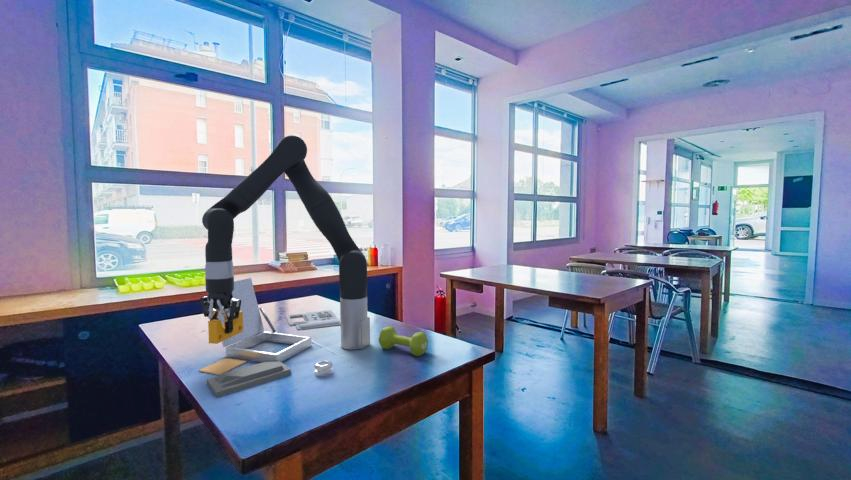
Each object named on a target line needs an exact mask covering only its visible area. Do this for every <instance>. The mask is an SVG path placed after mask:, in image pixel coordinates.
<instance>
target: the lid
mask: <svg viewBox="0 0 851 480" xmlns="http://www.w3.org/2000/svg"><path fill="white" fill-rule="evenodd" d="M232 295H233V298H234V299H236V300H238V299H240V300H241V307H240V311H243V332H241V333H239V334H236V335H234V336H232V337H230V338H228V339H226V340H224V341H222V342H221V344H222V347H223V348H226V347H228V346H230V345H233V344H235V343H238V342H240V341H243V340H245V339H248V338H250V337H252V336H255V335H257V334H260V333H262V332H265V328H264V324H263V321H262V317H261V311H260V309H259V308H260V307H259V304H258V301H257V297H256V292H255V289H254V284H253V280H252V277H248V278H244V279H239V280H234V290H233V292H232ZM227 310H228V309H226V310H225V311H227ZM227 315H228V317H229V314H228V313H227ZM217 318H218V320H221V324H222V325H223V323H224V322H225V320H224V316H223V315H222V314H221V312H220V311H219V314H218V317H217Z"/></svg>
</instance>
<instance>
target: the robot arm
mask: <svg viewBox="0 0 851 480" xmlns="http://www.w3.org/2000/svg"><path fill="white" fill-rule="evenodd" d="M307 154H308V147H307V144H306V142H305V140H304V139H302V138H301V137H300V136H297V135H293V134H291V135H290V134H289V135H286V136H284V137H282V138H281V139H280V140H279V141H278V143H277V145H276V146H275V149H273V150H272V152H271V153H270V154H269V156H268V157H267V158H266V159H265V160H264V161H262V163H261V164H260V165H259V166H258V167H257V168H255V169H254V170H253V171H252V172H251V173H250V174H248V175H247V176H246V177H245V178H244V179H243V180H242V181H240V182H239V183H238V184H237V185H236V186H234V188H233V189H232V190H230V191H229V193H227V194H226V195H225V196H224V197H223V198H221V199H220V200H219V201H217V202H216V203H214V204H213V205H212V206H211V207H210V208H207V210H206V211H205V212H204V213H203V215H202V218H201V220H202V225H203V227H204V229H206V230H207V243H206V244H205V248H204V250H205V251H204V252H205V253H204V254H205V255H204V256H205V265H204V267H205V268H204V275H205V278H204V279H205V281H204V282H205V293H206V294H208V295H207V296H203V297H200V304H201V309H202V312H203V313H202V314H203V316H204V318H206V317H207V319H208V320H209V321H210V320H213V319H215V320H218V318H217V317H218V314H219V311H220V312H221V314H222V315H223V316H224V320H225V322H224V324H225V333H226V334H229V333H231V332H232V331H233V320H234V319H236V318H238V317H239V312H240V307H241V300H240V299H238V300H236V299H234V298H233V295H232V292H233V290H234V281H235V271H234V268H235V267H234V262H233V247H232V244H233V239H234V231H235V229H234V228H235V222H234V221H235V220H234V219H235V218H236V217H238V216H239V215H240V214H242V213H244V212H246V211H248V210H249V209H250V208H251V207H252V206H253V205H254V204H255V203H256V202H257V201H258V200H259V199H260V198H261V197H263V196H264V194H265V193H266V192H267V191H268V189H269V188H270V187H271V186H272V185H273V184H274V182H276V180H277V179H278V178H279V177H280V176H281V175H283V173H284V174H285V175H286V177H287V178H288V179H289V181H290V182H291V183H292V186H293V188H294V190H295V191H296V193H297V195H298V197H299V198H300V201H301V202H302V204H303V205H304V208H305V209H306V211H307V214H308V215H309V217H310V219H311V220H312V222H313V224H315V226H316V228H317V229H318V231H319V232H320V233H321V234H322V235H323V236H324V238H326V239H325V240H327V241H328V242H329V245H330V246H331V247H332V250H333V252H334V254H335V255H336V258H337V260H338V278H339V286H338V287H339V300H340V301H339V306H340V307H339V311H340V313H339V316H340V319H339V321H340V322H341V325H340V346H341V348H342V349H345V350H350V351H351V350H353V351H354V350H363V349H365V348H366V347H367V346H369V345H371V319H370V317H369V316H368V263H367V258H366V255H364V253H363V252H362V251H361V250H360V248H359V247H358V245H357V244H356V242H355V241H354V240H353V238H352V236H351V235H350V233H349V231H348V228H347V226H346V224H345V221H344V219H343V216H342V215H341V213H340V210H339V209H338V207H337V205H336V202H335V201H334V200H333V198H332V196H331V195H330V193H328V191H327V189H325V188H324V187H323V186H322V185H321V184H320V183H319V182H318V181H317V180H316V179H315V178H314V176H313V175H312V173H311V171H310V169H309V167H308V165H307V163H306V160H305V159H306V158H307ZM226 309H228V310H227V311H225V310H226ZM227 313H228V314H229V317H228V315H227ZM234 313H235V315H234Z"/></svg>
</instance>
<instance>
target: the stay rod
mask: <svg viewBox="0 0 851 480" xmlns="http://www.w3.org/2000/svg"><path fill="white" fill-rule="evenodd" d="M258 308H259V312H260V314H261V315H262V316H263V318H264V320H265V321H266V322H267V324H268V326H269V328H270V329H271V332H276V328H275V327H274V326H273V323H272V322H271V320H270V319H269V317H268V315H267V313H266V311H265V310H264V309H263V307H262V306H260V307H258Z"/></svg>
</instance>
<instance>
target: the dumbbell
mask: <svg viewBox="0 0 851 480" xmlns="http://www.w3.org/2000/svg"><path fill="white" fill-rule="evenodd" d="M378 342H379V345H380V347H381V348H382V349H383V350H390V349H392V348H393V347H395V345H400V346H403V347H409V349H410V352H411V354H412V355H413V356H415V357H421V356H422V354H423V355H424V354H425V353H426V351H427V348H428V345H429V339H428V337H427V334H426V333H425V332H424V331H423V332H422V331H418V332H415V333H414V334H412V336H411V337H410V336H404V335H399V334H398V332H397V331H396V329H395V327H394V326H390V325H388V326H385V327H383V328H382V329H381V330H380V333H379V337H378Z"/></svg>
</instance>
